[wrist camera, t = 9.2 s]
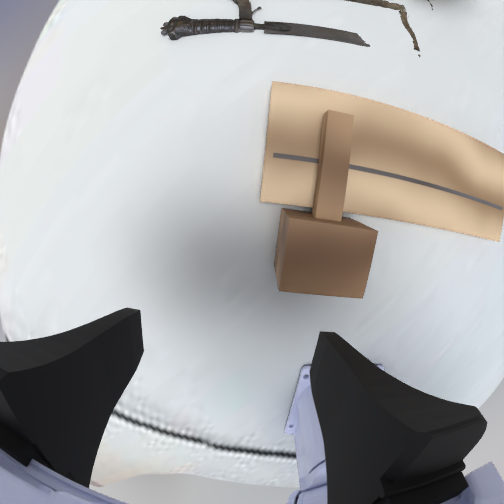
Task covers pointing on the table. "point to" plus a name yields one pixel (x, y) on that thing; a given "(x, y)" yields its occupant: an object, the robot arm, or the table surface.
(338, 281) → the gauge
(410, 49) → the table surface
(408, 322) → the table surface
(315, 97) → the board
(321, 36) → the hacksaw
